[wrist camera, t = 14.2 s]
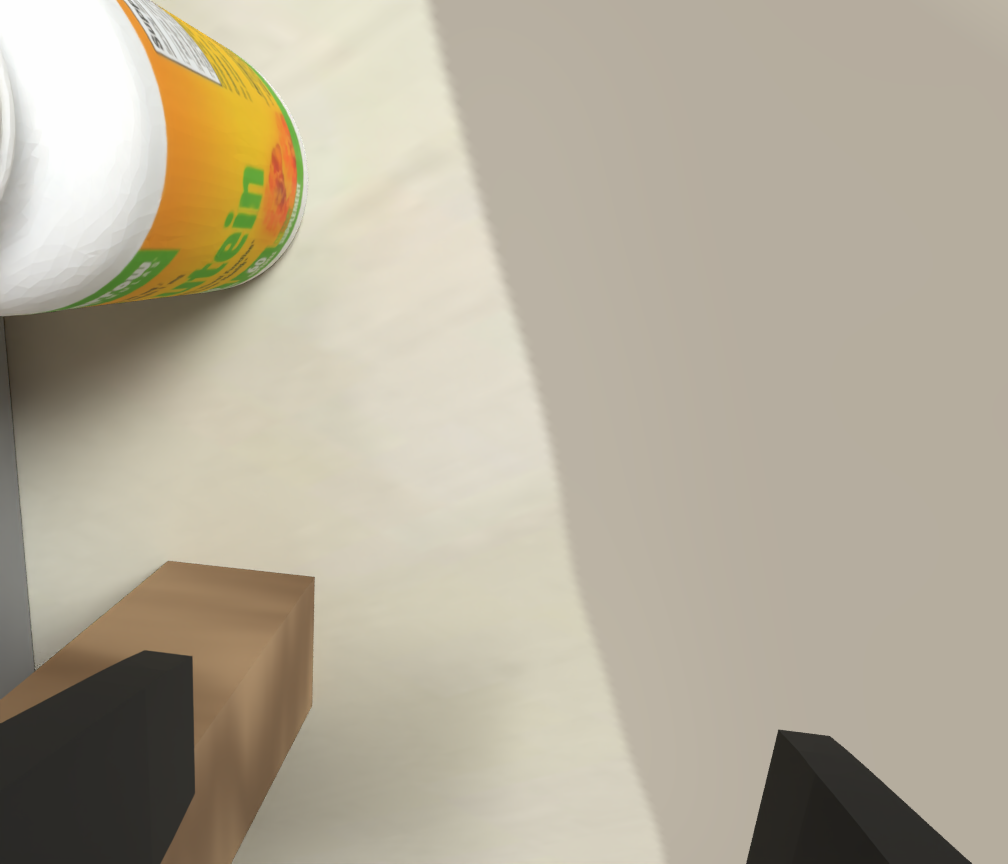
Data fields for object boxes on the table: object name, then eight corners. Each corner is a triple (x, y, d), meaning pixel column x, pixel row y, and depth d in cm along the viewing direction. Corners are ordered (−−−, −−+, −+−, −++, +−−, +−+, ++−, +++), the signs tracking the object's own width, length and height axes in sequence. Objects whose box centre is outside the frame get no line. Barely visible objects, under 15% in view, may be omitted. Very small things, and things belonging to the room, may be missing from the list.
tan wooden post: (311, 705, 20) (125, 1071, 11) (173, 689, 20) (-121, 1037, 11) (314, 576, 19) (109, 867, 10) (168, 561, 19) (-161, 833, 10)
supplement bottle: (224, 337, 17) (-173, 448, 8) (42, 182, 16) (-641, 93, 7) (361, 162, 16) (88, 37, 6) (171, -14, 15) (-450, -445, 6)
